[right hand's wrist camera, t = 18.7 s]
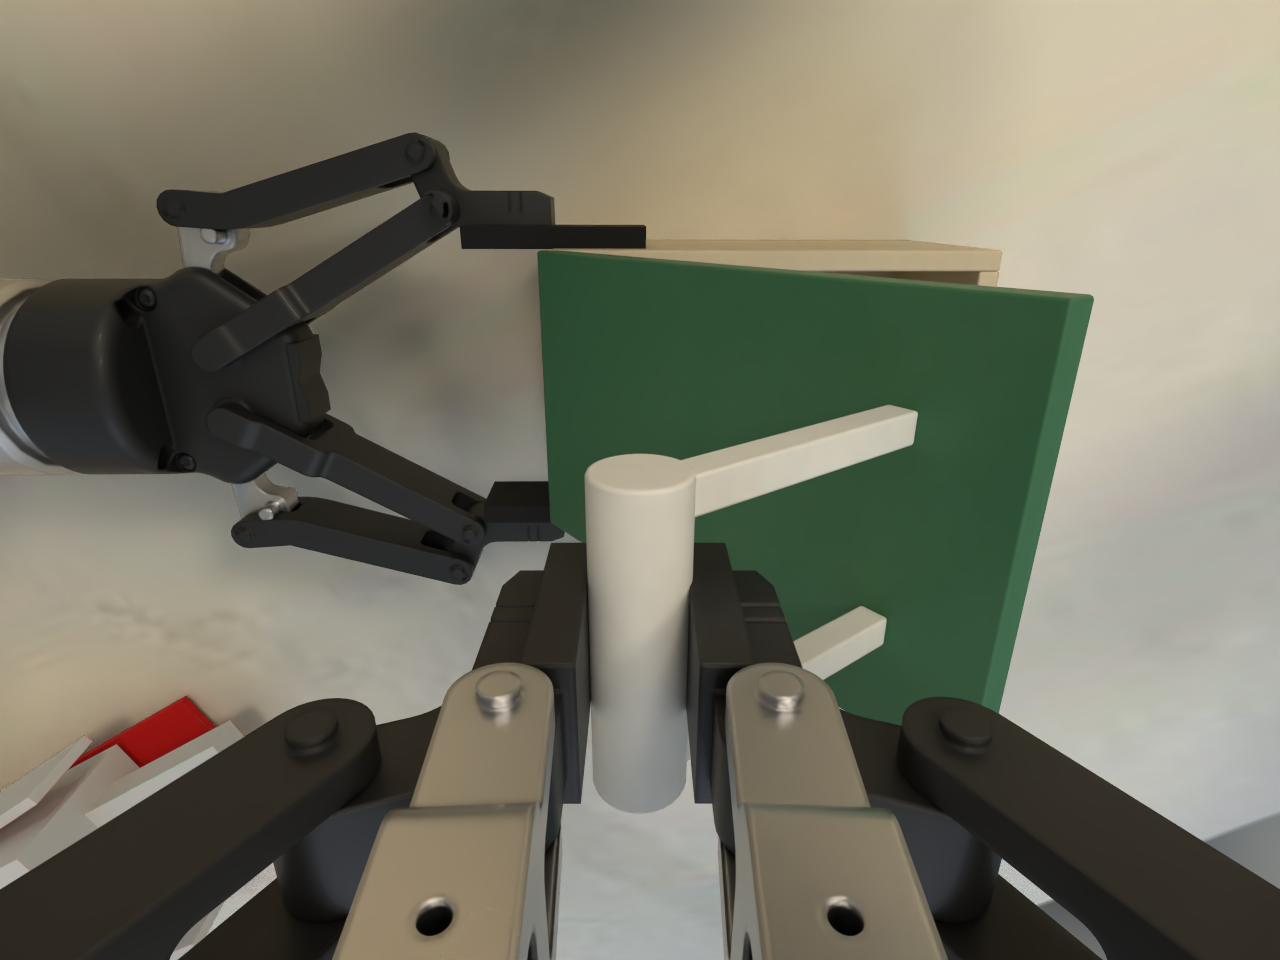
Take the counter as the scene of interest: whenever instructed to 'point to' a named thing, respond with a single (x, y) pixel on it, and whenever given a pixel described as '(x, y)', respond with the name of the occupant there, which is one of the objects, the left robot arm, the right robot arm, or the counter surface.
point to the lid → (797, 477)
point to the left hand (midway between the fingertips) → (644, 377)
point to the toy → (105, 789)
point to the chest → (834, 257)
